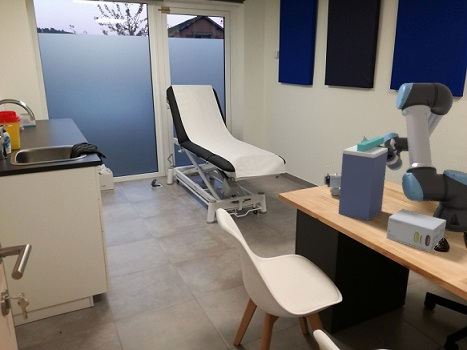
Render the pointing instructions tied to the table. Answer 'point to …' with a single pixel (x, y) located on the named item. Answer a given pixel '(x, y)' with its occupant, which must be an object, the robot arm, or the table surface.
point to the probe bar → (370, 144)
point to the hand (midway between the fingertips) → (376, 139)
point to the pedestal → (362, 182)
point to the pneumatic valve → (333, 183)
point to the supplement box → (415, 229)
